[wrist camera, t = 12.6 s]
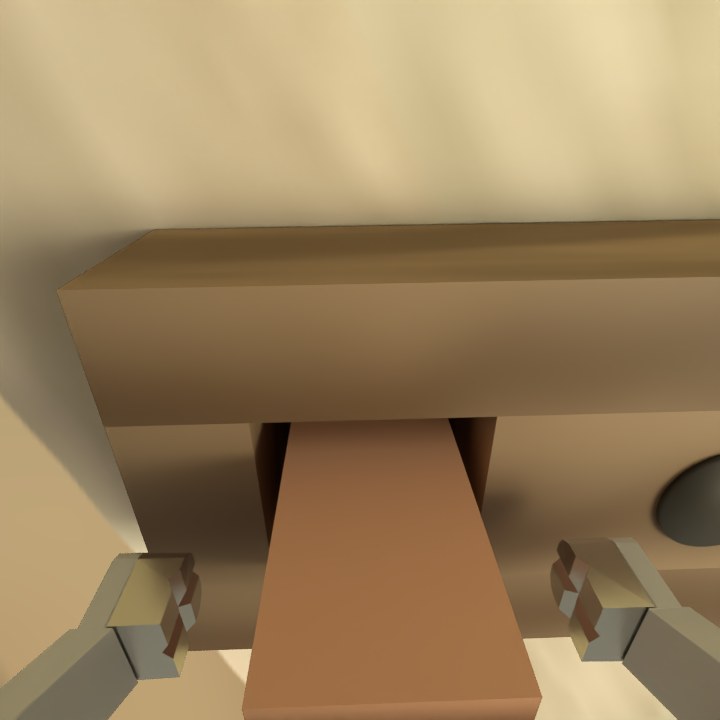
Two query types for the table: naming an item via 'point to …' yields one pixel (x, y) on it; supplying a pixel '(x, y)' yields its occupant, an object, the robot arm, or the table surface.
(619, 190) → the table surface
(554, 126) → the table surface
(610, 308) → the socket block
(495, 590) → the square peg
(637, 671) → the robot arm
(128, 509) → the table surface
